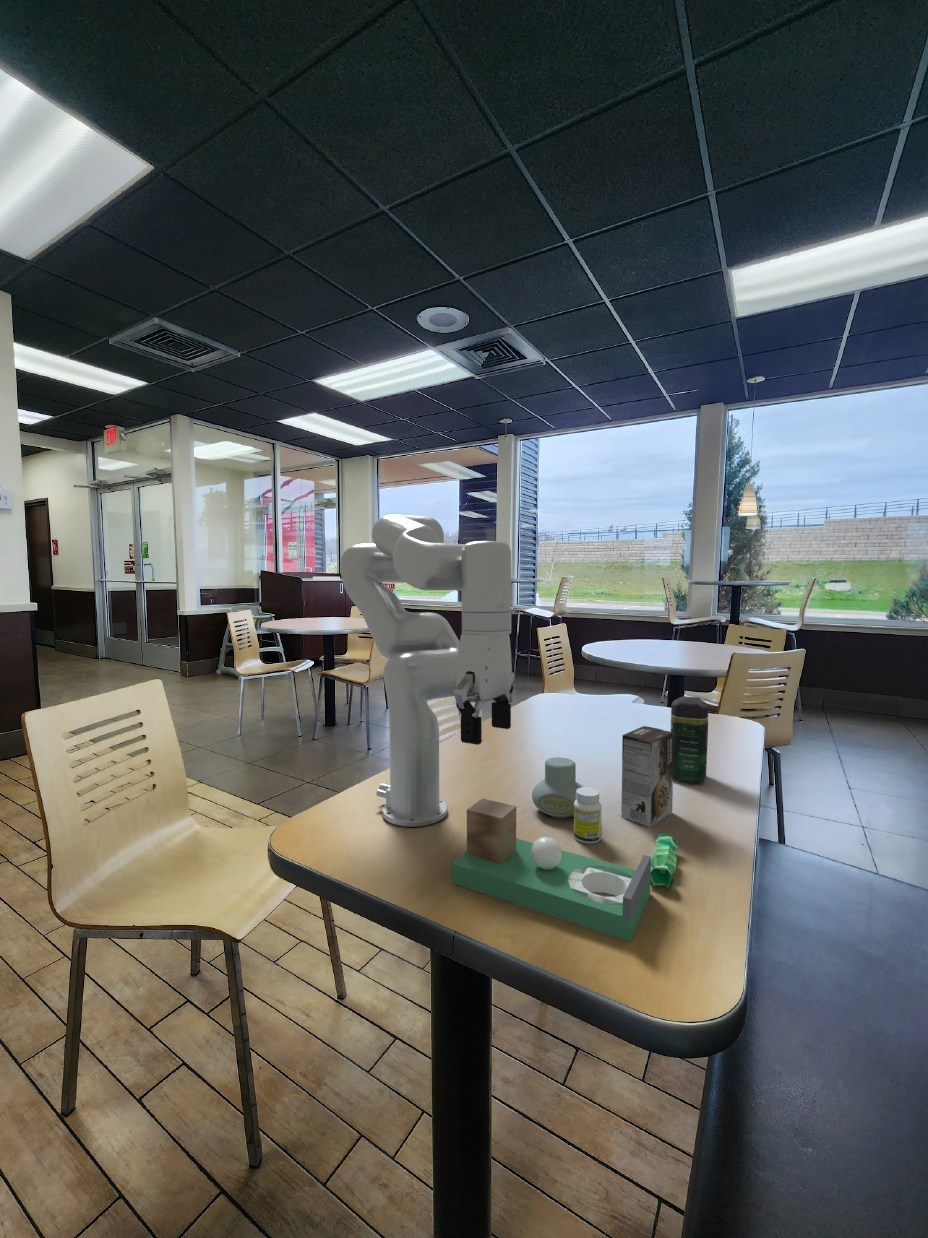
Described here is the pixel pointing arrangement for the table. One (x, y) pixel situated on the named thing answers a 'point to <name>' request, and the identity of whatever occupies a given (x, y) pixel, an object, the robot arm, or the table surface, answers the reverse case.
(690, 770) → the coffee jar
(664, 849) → the candy
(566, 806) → the air freshener
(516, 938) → the table surface
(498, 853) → the block
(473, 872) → the board
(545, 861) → the ball
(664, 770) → the coffee box
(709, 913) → the table surface
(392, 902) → the table surface
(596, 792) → the supplement bottle
